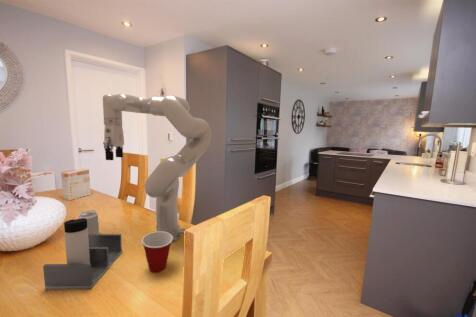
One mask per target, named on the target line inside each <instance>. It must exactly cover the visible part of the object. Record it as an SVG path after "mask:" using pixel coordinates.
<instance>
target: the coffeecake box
mask: <svg viewBox="0 0 476 317" xmlns="http://www.w3.org/2000/svg"><path fill="white" fill-rule="evenodd" d="M60 174H61V176H60V177H61V185H62V196H63V198H62V199H63V200H64V199H65V201H68V200H69V201H70V202H71V201H73V199H74V200H76V199H77V198H78V199H80V197H81V198H84V197H83V196H85V197H88V196H87V195H89V196H91V195H92V193H91V182H90V180H91V179H90V169H87V168H80V169H74V170H73V169H72V170H67V171H61V172H60ZM90 194H91V195H90Z"/></svg>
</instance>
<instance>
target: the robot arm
mask: <svg viewBox="0 0 476 317" xmlns="http://www.w3.org/2000/svg"><path fill="white" fill-rule="evenodd" d="M102 109H103V110H102V111H103V125H104V133H103V136H104V137H103V138H104V141H103V142H102V145H103V148H104V151H105V152H104V153H105V160H106V161H114V151H113V150H114V147H115V158H123V157H124V152H123V151H124V145H125V138H124V137H125V136H124V130H123V112H125V113H126V112H130V113H135V114H148V115H153V116H158V117H165V118H166V119H167V120H168V121H169V123H170V124H171V125H172V126H173V127H174V129H175V130H176V131H177V132H178V133H179V134H180V135H181V136H183V137H184V138H186V139H190V140H188V141H187V142H186V143H185V145H183V147H182V148H181V149H180V150H179V151H178V153H176V154H175V155H171V156H168V157H166V158H164V159H163V160H162V161H160V162H159V164H157V166H156V167H155V169H154V170H153V171H152V172H151V173H150V175H149V176H148V177H147V179H146V180H145V183H144V190H145V193H146V195H148V196H149V197H151V198H155V199H156V200H155V212H156V215H155V217H156V218H155V219H156V232H158V231H162V232H167V233H170V234H171V235H172V236H173V240H172V242H171V243H173V242H176V241H177V240H179V239H180V238H181V237H182V235H185V234H184V231H185V230H186V228H181V227H180V225H179V222H178V221H179V218H178V216H179V215H178V214H179V213H178V207H179V206H178V195H179V188H180V180H179V179H180V177H184V176H185V175H186V174H187V173H189V172H190V170H191V169H192V168H193V167H194V165H195V164H196V163H197V162H198V161H199V159H200V158H201V157H202V156H203V155H204V153H205V152H206V151H207V149H208V147H209V146H210V144H211V142H212V129H211V126H210V125H209V123H208V121H206V120H205V119H203V118H199V117H193V116H192V114H191V113H190V110H191V106H190V103H189V102H188V101H187V100H186V99H184V98H182V97H179V96H176V95H166V96H162V95H161V96H159V95H153V96H152V97H142V96H141V97H140V96H135V95H132V94H131V95H130V94H125V93H118V94H104V95H103V96H102Z"/></svg>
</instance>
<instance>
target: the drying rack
mask: <svg viewBox="0 0 476 317" xmlns="http://www.w3.org/2000/svg"><path fill="white" fill-rule="evenodd" d="M88 239H89V255H90V264H67V263H46V264H44V265H43V266H42V270H43V279H44V287H45V290H91V289H92V288H93V287H94V286H95V285H96V284H97V282H98V281H99V280H100V279H101V278H102V276H104V275H105V273H106V272H107V271H108V270H109V268H110V267H111V266H112V265H113V263H114V262H116V260H117V259H118V258H119V256H121V254H122V253H123V248H122V234H121V233H116V234H115V233H99V234H88Z"/></svg>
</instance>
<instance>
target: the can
mask: <svg viewBox="0 0 476 317" xmlns="http://www.w3.org/2000/svg"><path fill="white" fill-rule="evenodd" d="M81 218H86V219H87V226H88V234H100V228H99V226H100V225H99V213H98V212H97V211H96V210H94V209H88V210H83V211H82V212H80V213H79V215H78V218H77V219H81Z"/></svg>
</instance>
